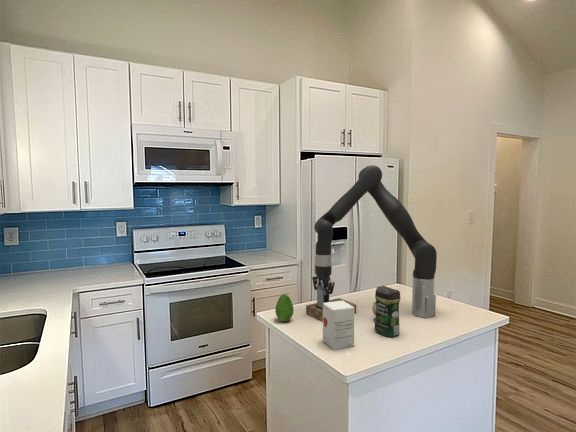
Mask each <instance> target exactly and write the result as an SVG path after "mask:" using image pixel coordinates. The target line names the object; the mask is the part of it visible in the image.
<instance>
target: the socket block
mask: <svg viewBox="0 0 576 432" xmlns="http://www.w3.org/2000/svg"><path fill="white" fill-rule="evenodd" d="M342 300H343V301H344V302H346V303H348V304H350V305H351V306H353V307H354V308H355V310H354V315H355V314H357V304H356V303H353V302H352V301H351V302H350V301H348V300H345V299H343V298H334V299H333V298H332V299H329V302H335V301H342ZM305 307H306V308H305V313H306V315H307V316H310V317H312V318H314V319H316V320H317V321H320V322H322V323H323V308H321V307H319V306H317V302H315V303H311V304H307V305H305Z"/></svg>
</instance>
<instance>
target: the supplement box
mask: <svg viewBox="0 0 576 432" xmlns="http://www.w3.org/2000/svg"><path fill="white" fill-rule="evenodd" d="M343 300H344V299H343ZM343 300H342V301H335V302H326V303H323V322H322V342H324V343H325V344H326V345H327V346H328V347H329V348H331V349H332V350H333V351H335V350H336V351H337V350H342V349H345V348H351V347H354V346H355V314H354V310H355V308H354V307H353V306H351V305H350V304H348V303H346V302H344V301H343Z"/></svg>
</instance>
